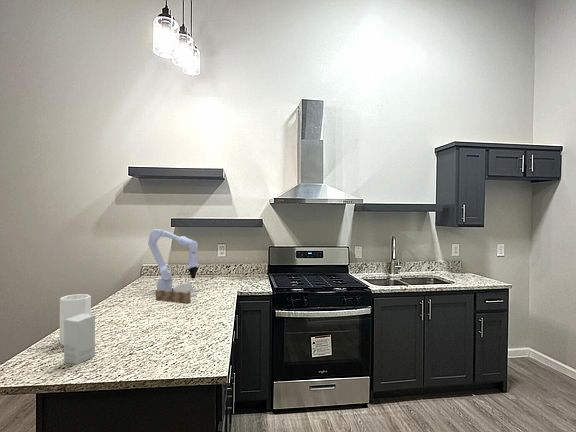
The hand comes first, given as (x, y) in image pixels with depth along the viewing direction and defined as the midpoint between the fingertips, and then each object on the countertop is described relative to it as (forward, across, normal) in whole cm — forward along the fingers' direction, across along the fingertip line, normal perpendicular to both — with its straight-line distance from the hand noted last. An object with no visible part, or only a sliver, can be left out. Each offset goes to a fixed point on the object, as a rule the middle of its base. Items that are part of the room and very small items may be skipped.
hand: (193, 278), depth 246 cm
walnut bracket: (+9, -23, -4) cm, 25 cm away
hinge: (+10, -17, -4) cm, 20 cm away
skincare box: (+10, -112, -29) cm, 116 cm away
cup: (+10, -99, -11) cm, 100 cm away
